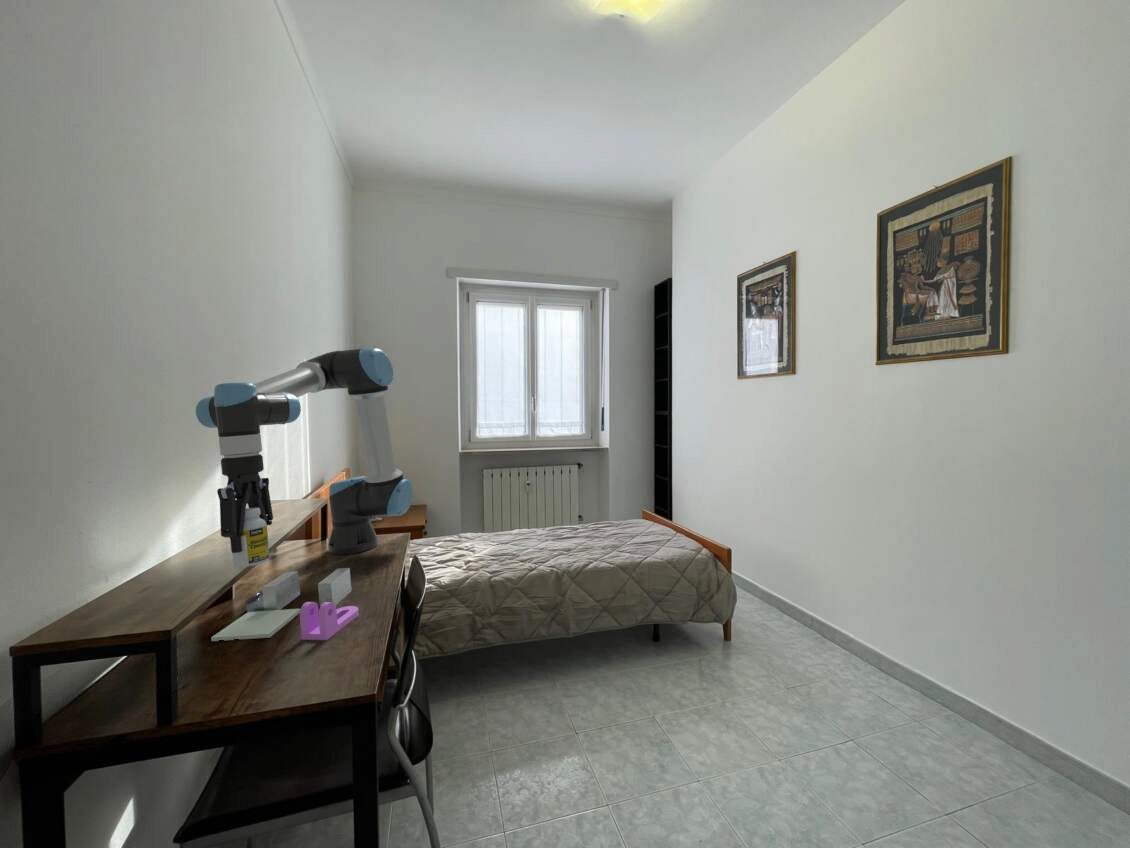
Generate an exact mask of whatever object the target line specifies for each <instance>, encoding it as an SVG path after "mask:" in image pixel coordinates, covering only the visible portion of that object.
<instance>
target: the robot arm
mask: <svg viewBox="0 0 1130 848" xmlns="http://www.w3.org/2000/svg"><path fill="white" fill-rule="evenodd" d="M393 376H394V369H393V365H392V362H391V360H390V357H389V356H388V355H387V354H386V353H385V352H384V350H381V349H379V348H374V347H373V348H372V347H370V348H369V347H368V348H366V347H363V348H357V349H345V350H334V351H330V352H326V353H324V354H320V355H318V356H315V357H313V358H310V359H308V360H305V361H303V362H300V363H299V364H298V365H296V367H295V368H293V369H290V370H288V371H286V372H283V373H279V374H278V375H275V376H272V377H269V378H266V379H264V380H261V381H258V382H255V383H252V382H225V383H224V382H223V383H218V384H217V385H215V387H214V392H213V393H214V394H213V395H212V396H209V397H204V398H202V399H200V400H199V401H198V402H197V404H196V407H195V416H196V418H197V421H198V422H199V424H200V425H202V426H204V427H207V428H211V429H214V428H216V429H217V433H218V434H217V435H218V443H219V445H218V446H219V454H220V456H223V457H222V458H221V459H220V465H221V466H220V467H221V474H222V476H226V477H227V483H226V486H225V487H224V488H223V487H221V488H218V489H217V491H216V492H217V497H218V499H219V516H220V519H219V521H220V522H219V523H220V536H221V537H222V538H225V539H226V538H229V540H230V550H231V553H232V562H233V568H234V569H235V568H236V569H237V568H248V567H250V566H249V561H248V551H247V540H246V535H243V528H244V519H245V510H246V508H247V506H248V508H260V512H261V513H260V515H259V517H260V518H261V519H264V520H265V521H266V525H267V526H271V525H272V524H273V519H274V515H273V509H272V501H271V495H270V489H269V484H270V479H269V477H261V476H260V474H259V473H261V472H263V471H264V460H263V455H262V454H260V453H261V452H262V451H263V447H262V438H261V429H260V428H261V427H260V426H272V425H273V426H274V425H285V424H289V423H294V422H295V421H296V420H298V418H299V416H300V415H301V411H302V410H301V407H302V406H301V403H300V402H301V401H300V400H299V399H298V398H299V397H302V396H304V395H306V394H309V393H311V394H317V393H319V392H321V391H325V390H334V389H336V390H337V389H339V390H340V389H347V394H348V396H349V397H350V398H352V399H353V400H354V402H355V409H356V412H357V418H358V422H359V429H360V435H361V440H362V444H363V449H364V456H365V461H366V466H367V475H362V476H361V475H360V476H355V477H351V478H345V479H341V480H338V481H334V482H332V483H331V484H330V485H329V489H328V490H329V491H328V492H329V495H328V498H329V506H330V515H331V525H332V526H331V527H332V528H331V531H330V537H329V540H328V543H327V544H328V545H327V551H328V553H329V554H332V555H335V556H336V555H338V556H339V555H352V554H357V553H361V552H366V551H368V550H371V549H373V548H375V547H376V546H378V544H379V541H378V540H379V539H378V535H377V534H376V533H377V532H376V531H375V529H374V527H373V525H372V522H371V517H391V518H392V517H395V516H397V517H398V516H403V515H404V514H405V513H407V512H408V510H409V509H410V507H411V504H412V501H413V498H414V497H413V496H414V495H413V494H414V489H413V487H414V486H413V484H412V482H411V480H409V479H406V478H404V474H403V471H402V470H401V469H399V468H397V462H396V457H395V451H394V450H395V449H394V446H393V440H392V439H393V438H392V433H391V427H390V422H389V417H388V411H387V404H386V400H385V395H386V394H387V392H388V391H389V387H388V386H389V385H391V384H392V382H393V380H394V377H393ZM267 535H268V532H267ZM268 536H269V535H268ZM365 550H366V551H365ZM247 566H248V567H247Z"/></svg>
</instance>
